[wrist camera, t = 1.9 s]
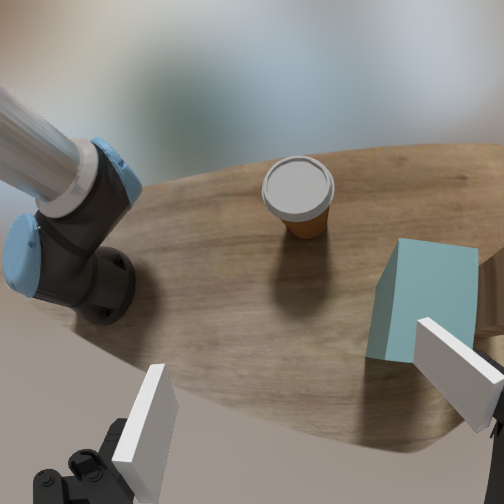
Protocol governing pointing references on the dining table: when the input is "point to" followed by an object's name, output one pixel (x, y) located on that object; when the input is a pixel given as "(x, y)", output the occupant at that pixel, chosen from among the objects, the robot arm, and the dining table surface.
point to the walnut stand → (490, 297)
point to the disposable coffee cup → (299, 194)
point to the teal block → (423, 297)
